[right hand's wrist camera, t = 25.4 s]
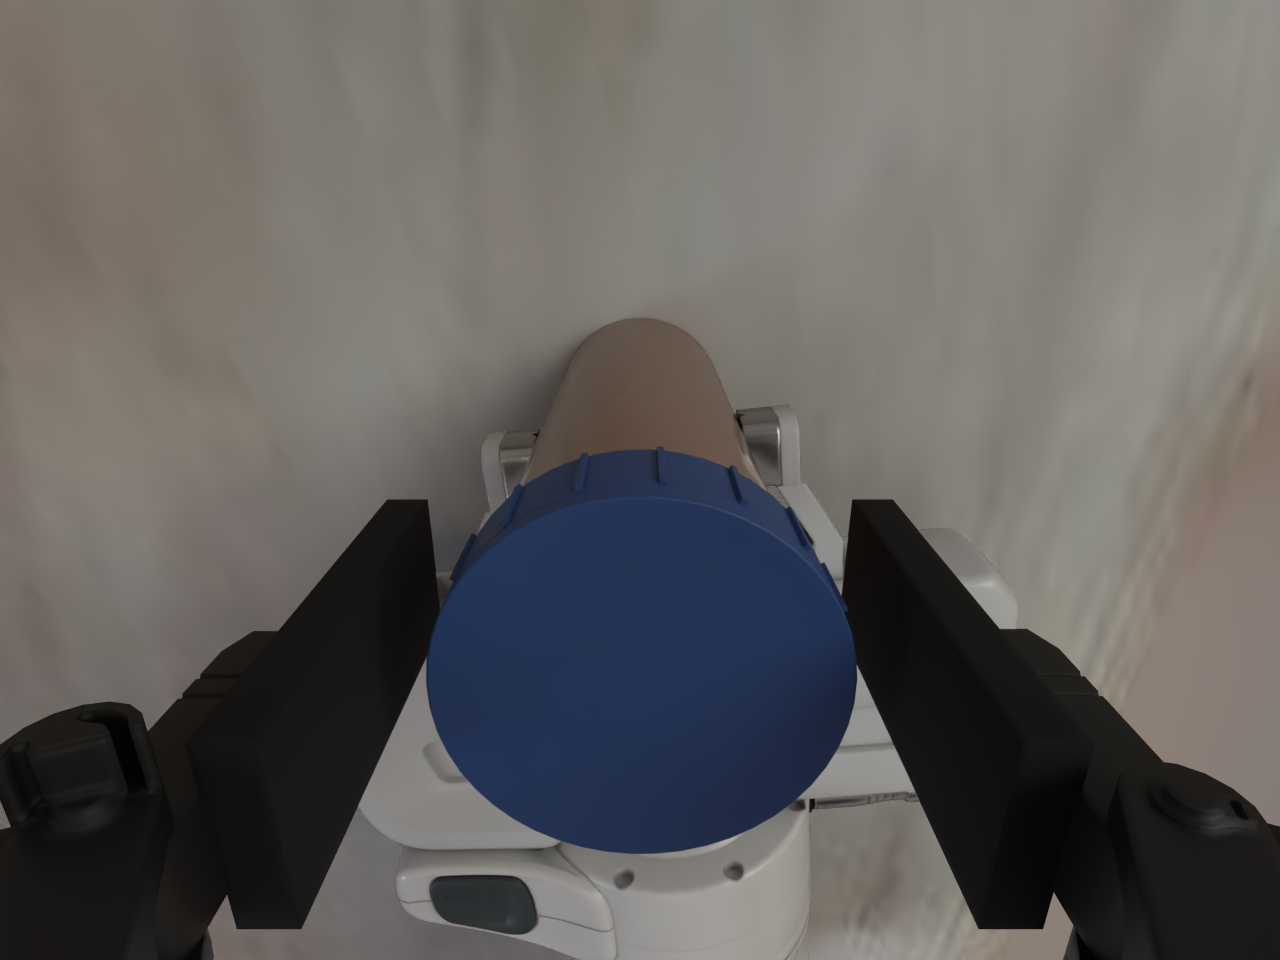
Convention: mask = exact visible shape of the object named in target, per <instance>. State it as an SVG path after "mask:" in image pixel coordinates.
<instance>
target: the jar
mask: <svg viewBox="0 0 1280 960" xmlns="http://www.w3.org/2000/svg"><path fill="white" fill-rule="evenodd" d="M657 446H663V447H664V451H671V452H679V453H683V454H687V455H692V456H696V457H700V458H704V459H707V460H709V461H712V462H715V463H717V464H720V465H722V466H725V467H728V468H729V467H730V466H731V465H733V466H735V467H737V469H738V472H739V474H741V475H743V476H745V477H746V478H748V479H750V480H752V481H753V482H754V483H756V484H757V485H759V486H760V487H761V488H763V489H764V490H765V491H767V488H766V486H765V484H764V481H763V479H762V477H761V474H760V472H759V470H758V467H757V465H756V463H755V460H754V458H753V456H752V453H751V451H750V449H749V446H748V444H747V442H746V440H745V437H744V435H743V433H742V430H741V428H740V426H739V423H738V421H737V419H736V416H735V414H734V412H733V409H732V407H731V405H730V402H729V400H728V398H727V395H726V393H725V391H724V388H723V386H722V384H721V381H720V379H719V377H718V375H717V372H716V370H715V368H714V365H713V363H712V361H711V359H710V358H709V356H708V354H707V353H706V351H705V350H704V349H703V347H702V346H701V345H700V344H699V343H698V342H697V341H696V340H695V339H694V338H693V337H692V336H690V335H689V334H688V333H687V332H685V331H683V330H682V329H680V328H678V327H676V326H674V325H672V324H669V323H667V322H663V321H660V320H655V319H648V318H634V319H626V320H622V321H618V322H615V323H612V324H610V325H607V326H605V327H603V328H602V329H600V330H598V331H596V332H595V333H594V334H592V335H591V336H590V337H589V338H587V339H586V340H585V341H584V342H583V343H582V344H581V345H580V347H579V348H578V349H577V351H576V352H575V353H574V355H573V357H572V359H571V360H570V362H569V364H568V367H567V369H566V371H565V374H564V376H563V378H562V381H561V383H560V385H559V388H558V390H557V393H556V395H555V397H554V400H553V402H552V404H551V407H550V409H549V411H548V414H547V416H546V419H545V421H544V423H543V426H542V428H541V430H540V433H539V435H538V437H537V440H536V442H535V444H534V447H533V449H532V452H531V454H530V456H529V459H528V461H527V463H526V466H525V468H524V470H523V473H522V475H521V478H520V480H519V482H518V484H521V486H522V487H523V486H524V485H525V484H527V483H528V482H530V481H532V480H533V479H535V478H537V477H539V476H540V475H542V474H544V473H546V472H547V471H549V470H551V469H554V468H556V467H558V466H561V465H563V464H566V463H568V462H571V461H573V460H576V459H580V455H581V454H583V453H588V456H591V455H595V454H599V453H605V452H613V451H620V450H645V449H653V450H657ZM767 492H768V491H767Z"/></svg>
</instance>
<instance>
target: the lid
mask: <svg viewBox="0 0 1280 960" xmlns="http://www.w3.org/2000/svg"><path fill="white" fill-rule="evenodd" d="M449 579H450V580H452V581H453V584H452V586H451V588H450V590H449V593H448V595H447V597H446V599H445V601H444V603H443V605H442V607H441V609H440V611H439V613H438V616H437V619H436V622H435V625H434V628H433V631H432V634H431V637H430V639H429V648H428V654H427V660H426V687H427V694H428V701H429V707H430V711H431V714H432V717H433V721H434V724H435V727H436V730H437V732H438V735H439V737H440V739H441V741H442V743H443V745H444V747H445V749H446V751H447V753H448V754H449V756H450V757H451V759H452V760H453V762H454V764H455V765H456V767H457V768H458V770H459V771H460V772H461V773H462V774H463V776H464V777H465V778H466V779H467V780H468V781H469V783H470V784H471V785H472V786H473V787H474V788H475V789H476V790H477V791H478V792H479V793H480V794H481V795H482V796H484V797H485V798H486V799H487V800H488V801H489V802H490V803H491V804H493V805H494V806H495V807H497V808H498V809H500V810H501V811H502V812H504V813H505V814H507V815H508V816H510V817H511V818H512V819H514V820H516V821H518V822H520V823H522V824H523V825H525V826H527V827H529V828H531V829H533V830H534V831H537V832H539V833H542V834H544V835H547V836H549V837H551V838H554V839H556V840H559V841H563V842H566V843H569V844H573V845H576V846H580V847H584V848H589V849H594V850H600V851H605V852H615V853H626V854H658V853H668V852H677V851H684V850H689V849H694V848H698V847H703V846H707V845H711V844H714V843H717V842H720V841H723V840H726V839H730V838H732V837H734V836H737V835H739V834H741V833H743V832H746V831H748V830H750V829H753V828H754V827H756V826H758V825H760V824H761V823H763V822H765V821H767V820H768V819H770V818H772V817H774V816H775V815H777V814H778V813H779V812H781V811H782V810H783V809H785V808H786V807H787V806H789V805H790V804H792V803H793V802H794V801H795V800H796V799H797V798H798V797H800V796H801V795H802V794H803V793H804V792H805V791H806V790H807V789H808V788H809V787H810V786H811V785H812V784H813V783H814V782H815V780H816V779H817V778H818V777H819V776H820V774H821V773H822V772H823V771H824V770H825V768H826V767H827V766H828V764H829V762H830V761H831V759H832V758H833V756H834V754H835V753H836V751H837V750H838V748H839V746H840V744H841V741H842V739H843V737H844V735H845V732H846V730H847V728H848V725H849V722H850V718H851V714H852V711H853V707H854V703H855V695H856V687H857V659H856V651H855V647H854V642H853V637H852V632H851V629H850V627H849V624H848V621H847V619H846V616H845V613H844V612H846V611H848V609H847V606H846V604H845V602H844V600H843V598H842V596H841V594H840V592H839V590H838V588H837V586H836V584H835V582H834V580H833V578H832V576H831V574H830V572H829V570H828V568H827V566H826V564H825V562H824V563H820V561H819V559H818V557H817V555H816V553H815V551H814V549H813V547H812V545H811V544H810V542H809V540H808V538H807V537H806V535H805V533H804V531H803V528H802V526H801V524H800V522H799V520H798V518H797V516H796V514H795V512H794V510H793V509H792V508H791V507H790V506H789V507H788V508H787V509H785V508H784V507H783V506H782V505H781V504H780V503H779V502H778V501H777V500H776V499H775V498H774V497H773V496H772V495H771V494H770V493H768V492H767V491H765V490H764V489H763V488H761V487H760V486H759V485H757V484H756V483H754V482H753V481H752V480H750V479H748V478H746V477H745V476H743V475H741V474H739V472H738V469H737V467H735V466H733V465H731V466H730V467H729V468H728V467H725V466H722V465H720V464H717V463H715V462H712V461H709V460H707V459H704V458H700V457H696V456H692V455H687V454H683V453H679V452H671V451H664V447H663V446H657V450H653V449H645V450H620V451H613V452H605V453H599V454H595V455H591V456H588V453H583V454H581V455H580V459H576V460H573V461H571V462H568V463H566V464H563V465H561V466H558V467H556V468H554V469H551V470H549V471H547V472H546V473H544V474H542V475H540V476H539V477H537V478H535V479H533V480H532V481H530V482H528V483H527V484H525V485H524V486H523V487H522V486H521V484H518V485H517V486H515V487H514V489H513V492H512V494H511V496H510V497H509V498H508V499H507V500H506V501H505V502H504V503H503V504H502V505H501V506H500V507H499V508H498V509H497V510H496V511H495V512H494V513H493V514H492V515H491V516H490V518H489V519H488V520H487V522H486V523H485V524H484V526H483V527H482V529H481V530H480V531H479V533H478V534H477V536H476V535H474V534H471V536H470V538H469V540H468V542H467V544H466V546H465V548H464V550H463V552H462V554H461V556H460V558H459V560H458V562H457V564H456V566H455V568H454V570H453V572H452V574H451V576H450V578H449Z"/></svg>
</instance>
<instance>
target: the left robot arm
mask: <svg viewBox="0 0 1280 960" xmlns="http://www.w3.org/2000/svg"><path fill="white" fill-rule="evenodd" d="M735 416H736V419H737V421H738V423H739V426H740V428H741V430H742V433H743V435H744V437H745V440H746V442H747V444H748V446H749V449H750V451H751V453H752V456H753V458H754V460H755V463H756V465H757V467H758V470H759V472H760V474H761V477H762V479H763V481H764V484H765V486H776V488H777V489H778V490H779V492H780V493H781V495H782V496H783V498H784V499H785V501H786V502H787V504H788V505H789V506H790V507H791V508H792V509H793V510H794V512H795V514H796V516H797V518H798V520H799V522H800V524H801V526H802V528H803V531H804V533H805V535H806V537H807V538H808V540H809V542H810V544H811V545H812V547H813V549H814V551H815V553H816V555H817V557H818V559H819V561H820V563H824V562H825V564H826V566H827V568H828V570H829V572H830V574H831V576H832V578H833V580H834V582H835V584H836V586H837V588H838V590H839V592H840V594H841V595H842V586H843V577H844V569H845V560H846V551H847V542H848V536H844V537H841V536H840V534H839V533H838V531H837V529H836V527H835V526H834V524H833V522H832V521H831V519H830V517H829V515H828V514H827V512H826V510H825V509H824V507H823V506H822V504H821V503H820V501H819V500H818V498H817V497H816V495H815V494H814V492H813V491H812V489H811V488H810V486H809V485H808V483H807V482H806V481H805V479H804V478H803V476H802V475H801V473H800V443H799V427H798V422H797V417H796V415H795V413H794V412H793V411H792V409H791V408H790V406H789V405H781V406H771V407H761V408H751V409H742V410H736V414H735ZM540 430H541V429H534V430H521V431H508V432H506V431H502V432H495V433H489V434H488V436H487V437H486V439H485V441H484V442H483V444H482V447H481V464H482V470H483V475H484V481H485V486H486V491H487V497H488V502H489V507H488V509H487V511H486V513H485V515H484V518H483V520H482V523H481V525H480V528H479V530H478V532H477V534H478V533H479V531H480V530H481V529H482V527H483V526H484V524H485V523H486V522H487V520H488V519H489V518H490V516H491V515H492V514H493V513H494V512H495V511H496V510H497V509H498V508H499V507H500V506H501V505H502V504H503V503H504V502H505V501H506V500H507V499H508V498H509V497H510V496H511V494H512V492H513V489H514V487H515V486H517V485H518V482H519V480H520V478H521V475H522V473H523V470H524V468H525V466H526V463H527V461H528V459H529V456H530V454H531V452H532V449H533V447H534V444H535V442H536V440H537V437H538V435H539V433H540ZM918 531H919V532H920V533H921V534H922V536H923V537H924V538H925V539H926V540H927V542H928V543H929V544H930V545H931V546H932V548H933V549H934V550H935V551H936V552H937V554H938V555H939V556H940V557H941V558H942V560H943V561H944V562H945V563H946V565H947V566H948V567H949V568H950V569H951V571H952V572H953V573H954V574H955V575H956V577H957V578H958V579H959V580H960V581H961V583H962V584H963V585H964V586H965V587H966V589H967V590H968V591H969V592H970V593H971V595H972V596H973V597H974V598H975V599H976V601H977V602H978V603H979V604H980V606H981V607H982V608H983V609H984V610H985V612H986V613H987V614H988V615H989V616H990V618H991V619H992V620H993V621H994V622H995V624H996V625H997V626H998V627H999V628H1000V629H1017V621H1018V602H1017V599H1016V596H1015V594H1014V592H1013V590H1012V588H1011V586H1010V585H1009V583H1008V582H1007V581H1006V579H1005V578H1004V576H1003V575H1002V574H1001V573H1000V572H999V570H998V569H997V568H996V567H995V566H994V565H993V563H992V562H991V561H990V560H989V559H988V558H987V557H986V556H985V555H984V554H983V553H982V552H981V551H979V550H978V549H977V548H976V547H975V546H974V545H972V544H971V543H970V542H969V541H968V540H967V539H965V538H964V537H963V536H962V535H961V534H959V533H958V532H956V531H954V530H952V529H947V528H936V529H924V530H918ZM476 536H477V535H476ZM452 572H453V571H444V572H436V577H437V586H438V595H439V603H440V609H441V607H442V605H443V603H444V601H445V599H446V597H447V595H448V593H449V590H450V588H451V586H452V584H453V581H452V580H450V579H449V578H450V576H451V574H452ZM426 660H427V658H426ZM426 660H425V662H424V664H423V666H422V668H421V671H420V673H419V675H418V677H417V679H416V681H415V684H414V686H413V688H412V690H411V692H410V694H409V697H408V699H407V701H406V703H405V705H404V707H403V710H402V712H401V714H400V716H399V718H398V720H397V723H396V725H395V727H394V729H393V731H392V733H391V736H390V738H389V740H388V742H387V744H386V746H385V749H384V751H383V753H382V755H381V757H380V759H379V762H378V764H377V766H376V768H375V770H374V772H373V775H372V777H371V779H370V781H369V783H368V785H367V788H366V790H365V792H364V794H363V796H362V798H361V801H360V803H359V805H358V809H359V810H360V812H361V813H362V814H363V816H364V817H365V818H366V819H367V821H368V822H369V823H370V824H371V825H372V826H373V827H374V828H375V829H377V830H378V831H379V832H380V833H381V834H383V835H384V836H386V837H387V838H389V839H391V840H393V841H395V842H397V843H400V844H403V845H402V849H401V854H400V859H399V863H398V868H397V873H396V879H395V885H396V892H397V895H398V899H399V901H400V903H401V905H402V907H403V908H404V910H405V911H406V912H407V913H408V914H410V915H411V916H413V917H415V918H417V919H420V920H423V921H427V922H431V923H437V924H443V925H449V926H456V927H462V928H468V929H473V930H479V931H485V932H489V933H494V934H499V935H503V936H508V937H512V938H516V939H520V940H524V941H527V942H531V943H534V944H537V945H540V946H544V947H547V948H549V949H552V950H555V951H557V952H560V953H563V954H565V955H568V956H570V957H572V959H571V960H810V955H809V950H808V947H807V944H806V940H805V937H804V936H805V932H806V929H807V926H808V920H809V914H810V907H811V872H810V824H809V812H812V809H814V810H815V809H828V808H841V807H855V806H861V805H866V804H872V803H875V802H876V803H877V802H882V801H890V800H903V799H904V800H905V801H907V802H920V801H919V798H918V796H917V794H916V792H915V790H914V788H913V785H912V783H911V781H910V779H909V777H908V775H907V772H906V770H905V768H904V766H903V764H902V762H901V759H900V757H899V755H898V753H897V751H896V749H895V746H894V744H893V742H892V740H891V738H890V736H889V733H888V731H887V729H886V727H885V725H884V723H883V720H882V718H881V716H880V714H879V712H878V710H877V707H876V705H875V703H874V701H873V699H872V697H871V694H870V692H869V690H868V688H867V686H866V684H865V681H864V679H863V677H862V675H861V673H860V671H859V668H858V666H857V687H856V695H855V703H854V707H853V711H852V714H851V718H850V722H849V725H848V728H847V730H846V732H845V735H844V737H843V739H842V741H841V744H840V746H839V748H838V750H837V751H836V753H835V754H834V756H833V758H832V759H831V761H830V762H829V764H828V766H827V767H826V768H825V770H824V771H823V772H822V773H821V774H820V776H819V777H818V778H817V779H816V780H815V782H814V783H813V784H812V785H811V786H810V787H809V788H808V789H807V790H806V791H805V792H804V793H803V794H802V795H801V796H800V797H798V798H797V799H796V800H795V801H794V802H793V803H792V804H790V805H789V806H787V807H786V808H785V809H783V810H782V811H781V812H779V813H778V814H777V815H775V816H774V817H772V818H770V819H768V820H767V821H765V822H763V823H761V824H760V825H758V826H756V827H754V828H753V829H750V830H748V831H746V832H743V833H741V834H739V835H737V836H734V837H732V838H730V839H726V840H723V841H720V842H717V843H714V844H711V845H707V846H703V847H698V848H694V849H689V850H684V851H677V852H668V853H658V854H626V853H615V852H605V851H600V850H594V849H589V848H584V847H580V846H576V845H573V844H569V843H566V842H563V841H559V840H556V839H554V838H551V837H549V836H547V835H544V834H542V833H539V832H537V831H534V830H533V829H531V828H529V827H527V826H525V825H523V824H522V823H520V822H518V821H516V820H514V819H512V818H511V817H510V816H508V815H507V814H505V813H504V812H502V811H501V810H500V809H498V808H497V807H495V806H494V805H493V804H491V803H490V802H489V801H488V800H487V799H486V798H485V797H484V796H482V795H481V794H480V793H479V792H478V791H477V790H476V789H475V788H474V787H473V786H472V785H471V784H470V783H469V781H468V780H467V779H466V778H465V777H464V776H463V774H462V773H461V772H460V771H459V770H458V768H457V767H456V765H455V764H454V762H453V760H452V759H451V757H450V756H449V754H448V753H447V751H446V749H445V747H444V745H443V743H442V741H441V739H440V737H439V735H438V732H437V730H436V727H435V724H434V721H433V717H432V714H431V711H430V707H429V701H428V694H427V687H426Z"/></svg>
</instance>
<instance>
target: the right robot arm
mask: <svg viewBox="0 0 1280 960" xmlns="http://www.w3.org/2000/svg"><path fill="white" fill-rule="evenodd" d="M841 596H842V598H843V600H844V602H845V604H846V606H847V609H848V611H846V612H844V613H845V616H846V619H847V621H848V624H849V627H850V629H851V632H852V637H853V642H854V647H855V651H856V659H857V666H858V668H859V671H860V673H861V675H862V677H863V679H864V681H865V684H866V686H867V688H868V690H869V692H870V694H871V697H872V699H873V701H874V703H875V705H876V707H877V710H878V712H879V714H880V716H881V718H882V720H883V723H884V725H885V727H886V729H887V731H888V733H889V736H890V738H891V740H892V742H893V744H894V746H895V749H896V751H897V753H898V755H899V757H900V759H901V762H902V764H903V766H904V768H905V770H906V772H907V775H908V777H909V779H910V781H911V783H912V785H913V788H914V790H915V792H916V794H917V796H918V798H919V801H920V803H921V805H922V807H923V809H924V811H925V814H926V816H927V818H928V820H929V822H930V824H931V827H932V829H933V831H934V833H935V835H936V837H937V840H938V842H939V844H940V846H941V848H942V850H943V853H944V855H945V857H946V859H947V861H948V864H949V866H950V868H951V870H952V872H953V874H954V877H955V879H956V881H957V883H958V885H959V887H960V890H961V892H962V894H963V896H964V898H965V900H966V903H967V905H968V907H969V909H970V911H971V913H972V916H973V918H974V920H975V922H976V924H977V926H978V929H1043V927H1044V924H1045V920H1046V917H1047V913H1048V909H1049V906H1050V902H1051V899H1052V895H1053V892H1054V893H1055V895H1056V896H1057V898H1058V900H1059V902H1060V903H1061V905H1062V907H1063V908H1064V910H1065V912H1066V913H1067V915H1068V917H1069V918H1070V920H1071V922H1072V924H1073V929H1072V932H1071V935H1070V938H1069V942H1068V945H1067V948H1066V952H1065V955H1064V958H1063V960H1280V827H1279V826H1275V825H1272V824H1268V823H1266V821H1265V820H1264V818H1263V817H1262V816H1261V814H1260V813H1259V811H1258V810H1257V809H1256V807H1255V806H1254V805H1252V804H1251V803H1250V802H1249V801H1247V800H1246V799H1245V798H1244V797H1242V796H1241V795H1240V794H1239V793H1237V792H1236V791H1235V790H1234V789H1232V788H1231V787H1229V786H1227V785H1225V784H1223V783H1221V782H1220V781H1218V780H1216V779H1214V778H1212V777H1210V776H1208V775H1207V774H1205V773H1202V772H1199V771H1196V770H1193V769H1190V768H1187V767H1184V766H1181V765H1178V764H1173V763H1166V762H1163V761H1162V760H1161V759H1160V758H1159V757H1158V756H1157V755H1156V753H1155V752H1154V751H1153V750H1152V749H1151V748H1150V747H1149V746H1148V745H1147V744H1146V743H1145V742H1144V740H1143V739H1142V738H1141V737H1140V736H1139V735H1138V734H1137V733H1136V732H1135V731H1134V730H1133V729H1132V727H1131V726H1130V725H1129V724H1128V723H1127V722H1126V721H1125V720H1124V719H1123V718H1122V717H1121V715H1120V714H1119V713H1118V712H1117V711H1116V710H1115V709H1114V708H1113V707H1112V706H1111V705H1110V704H1109V702H1108V701H1107V700H1106V699H1105V698H1104V697H1103V696H1099V695H1098V691H1097V689H1096V688H1095V687H1094V686H1093V685H1092V684H1091V683H1090V682H1089V681H1088V680H1087V679H1086V678H1085V676H1081V675H1080V671H1079V670H1078V669H1077V668H1076V667H1075V666H1074V665H1073V663H1072V662H1071V661H1070V660H1069V659H1068V658H1067V657H1066V656H1065V655H1064V654H1063V653H1062V652H1061V650H1060V649H1059V648H1057V647H1055V646H1054V645H1052V644H1050V643H1049V642H1047V641H1046V640H1044V639H1042V638H1041V637H1039V636H1038V635H1036V634H1034V633H1033V632H1031V631H1030V630H1028V629H1000V628H999V627H998V626H997V625H996V624H995V622H994V621H993V620H992V619H991V618H990V616H989V615H988V614H987V613H986V612H985V610H984V609H983V608H982V607H981V606H980V604H979V603H978V602H977V601H976V599H975V598H974V597H973V596H972V595H971V593H970V592H969V591H968V590H967V589H966V587H965V586H964V585H963V584H962V583H961V581H960V580H959V579H958V578H957V577H956V575H955V574H954V573H953V572H952V571H951V569H950V568H949V567H948V566H947V565H946V563H945V562H944V561H943V560H942V558H941V557H940V556H939V555H938V554H937V552H936V551H935V550H934V549H933V548H932V546H931V545H930V544H929V543H928V542H927V540H926V539H925V538H924V537H923V536H922V534H921V533H920V532H919V531H918V530H917V528H916V527H915V526H914V525H913V523H912V522H911V521H910V520H909V519H908V517H907V516H906V515H905V514H904V513H903V511H902V510H901V509H900V508H899V507H898V505H897V504H896V503H895V502H894V501H893V500H852V508H851V516H850V525H849V534H848V542H847V551H846V560H845V569H844V577H843V586H842V595H841ZM439 611H440V603H439V595H438V586H437V577H436V569H435V560H434V551H433V542H432V534H431V525H430V516H429V508H428V500H387V501H386V502H385V503H384V504H383V505H382V507H381V508H380V509H379V510H378V511H377V513H376V514H375V515H374V516H373V517H372V519H371V520H370V521H369V522H368V523H367V525H366V526H365V527H364V528H363V530H362V531H361V532H360V533H359V534H358V536H357V537H356V538H355V539H354V540H353V542H352V543H351V544H350V545H349V546H348V548H347V549H346V550H345V551H344V552H343V554H342V555H341V556H340V557H339V558H338V560H337V561H336V562H335V563H334V565H333V566H332V567H331V568H330V569H329V571H328V572H327V573H326V574H325V575H324V577H323V578H322V579H321V580H320V581H319V583H318V584H317V585H316V586H315V587H314V589H313V590H312V591H311V592H310V593H309V595H308V596H307V597H306V598H305V599H304V601H303V602H302V603H301V604H300V606H299V607H298V608H297V609H296V610H295V612H294V613H293V614H292V615H291V616H290V618H289V619H288V620H287V621H286V622H285V624H284V625H283V626H282V627H281V628H280V630H279V631H253V632H252V633H250V634H248V635H247V636H245V637H244V638H242V639H240V640H239V641H237V642H236V643H234V644H232V645H231V646H229V647H228V648H226V649H224V650H223V651H221V652H220V654H219V655H218V656H217V657H216V658H215V659H214V660H213V661H212V662H211V663H210V664H209V666H208V667H207V668H206V669H205V670H204V671H203V672H202V673H201V674H200V679H196V680H195V681H194V682H193V683H192V684H191V685H190V686H189V687H188V688H187V690H186V691H185V692H184V693H183V697H182V699H177V700H176V702H175V703H174V704H173V705H172V706H171V707H170V708H169V709H168V710H167V711H166V712H165V714H164V715H163V716H162V717H161V718H160V719H159V720H158V721H157V722H156V723H155V724H154V726H153V727H152V728H151V729H150V730H149V731H148V732H147V728H146V725H145V722H144V718H143V715H142V713H141V712H140V711H139V710H137V709H136V708H134V707H133V706H132V705H130V704H124V703H116V702H102V703H94V704H86V705H81V706H78V707H74V708H71V709H68V710H64V711H61V712H58V713H54V714H52V715H50V716H48V717H46V718H44V719H41V720H39V721H37V722H35V723H33V724H31V725H29V726H27V727H25V728H23V729H22V730H20V731H19V732H17V733H16V734H15V735H13V736H12V737H10V738H9V739H8V740H6V741H5V742H3V743H2V744H0V801H1V803H2V806H3V808H4V811H5V813H6V815H7V818H8V820H9V823H10V825H11V827H10V828H6V829H2V830H0V960H213V957H214V956H213V950H212V943H211V938H210V935H209V932H208V929H207V927H208V926H209V924H210V922H211V921H212V919H213V917H214V916H215V914H216V912H217V911H218V909H219V907H220V905H221V904H222V902H223V900H224V899H225V897H226V895H228V899H229V903H230V906H231V910H232V913H233V917H234V920H235V924H236V927H237V929H302V926H303V924H304V922H305V920H306V918H307V916H308V913H309V911H310V909H311V907H312V905H313V903H314V900H315V898H316V896H317V894H318V892H319V890H320V887H321V885H322V883H323V881H324V879H325V877H326V874H327V872H328V870H329V868H330V866H331V864H332V861H333V859H334V857H335V855H336V853H337V850H338V848H339V846H340V844H341V842H342V840H343V837H344V835H345V833H346V831H347V829H348V827H349V824H350V822H351V820H352V818H353V816H354V814H355V811H356V809H357V807H358V805H359V803H360V801H361V798H362V796H363V794H364V792H365V790H366V788H367V785H368V783H369V781H370V779H371V777H372V775H373V772H374V770H375V768H376V766H377V764H378V762H379V759H380V757H381V755H382V753H383V751H384V749H385V746H386V744H387V742H388V740H389V738H390V736H391V733H392V731H393V729H394V727H395V725H396V723H397V720H398V718H399V716H400V714H401V712H402V710H403V707H404V705H405V703H406V701H407V699H408V697H409V694H410V692H411V690H412V688H413V686H414V684H415V681H416V679H417V677H418V675H419V673H420V671H421V668H422V666H423V664H424V662H425V660H426V658H427V654H428V648H429V639H430V637H431V634H432V631H433V628H434V625H435V622H436V619H437V616H438V613H439Z"/></svg>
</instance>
